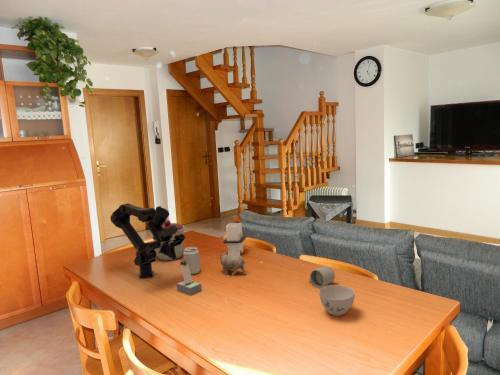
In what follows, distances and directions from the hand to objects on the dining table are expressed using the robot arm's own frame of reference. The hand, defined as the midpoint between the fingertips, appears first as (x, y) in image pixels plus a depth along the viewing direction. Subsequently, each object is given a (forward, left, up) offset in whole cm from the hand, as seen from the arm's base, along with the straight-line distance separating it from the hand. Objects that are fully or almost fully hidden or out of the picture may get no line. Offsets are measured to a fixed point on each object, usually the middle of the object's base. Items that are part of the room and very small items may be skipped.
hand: (175, 259), depth 169 cm
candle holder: (-37, +32, -13) cm, 51 cm away
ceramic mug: (+17, +60, -13) cm, 64 cm away
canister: (-43, -4, -13) cm, 45 cm away
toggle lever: (+7, +5, -9) cm, 12 cm away
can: (-16, +7, -13) cm, 22 cm away
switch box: (+7, +5, -13) cm, 15 cm away
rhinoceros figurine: (-10, +25, -13) cm, 30 cm away
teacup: (+42, +57, -13) cm, 72 cm away
